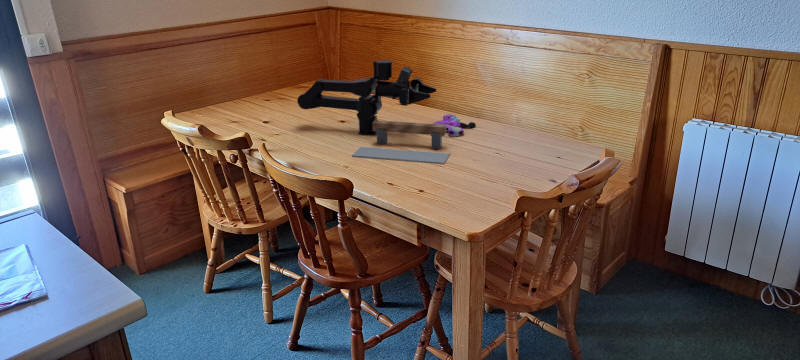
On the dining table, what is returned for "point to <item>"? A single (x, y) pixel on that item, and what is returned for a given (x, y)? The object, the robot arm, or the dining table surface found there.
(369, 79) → the robot arm
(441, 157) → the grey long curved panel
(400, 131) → the rail
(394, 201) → the dining table surface
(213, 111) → the dining table surface
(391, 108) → the dining table surface
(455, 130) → the decorative sculpture
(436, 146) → the grey block
